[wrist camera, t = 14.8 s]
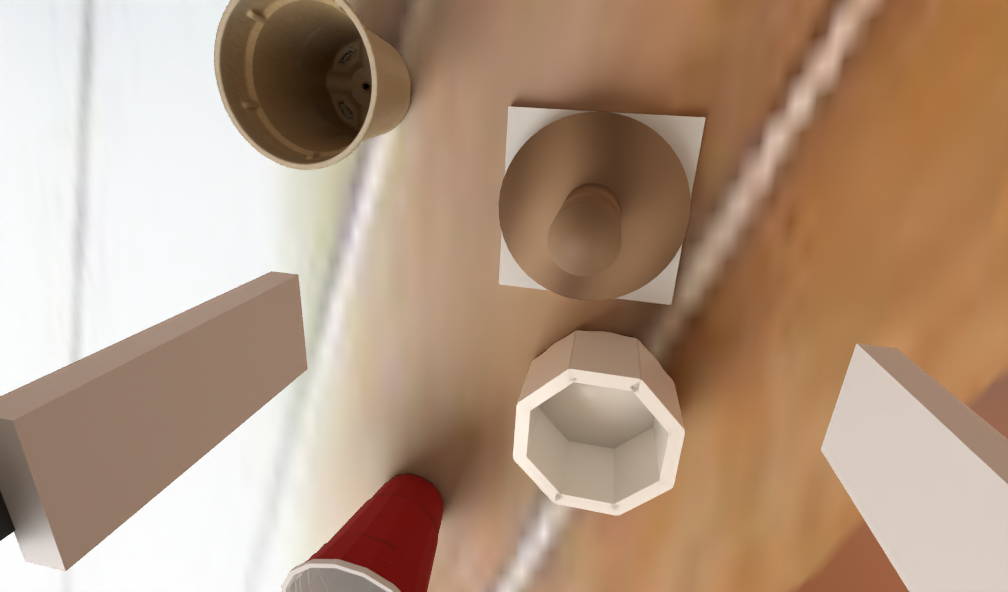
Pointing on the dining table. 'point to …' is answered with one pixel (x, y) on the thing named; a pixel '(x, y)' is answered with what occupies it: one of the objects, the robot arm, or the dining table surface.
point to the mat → (674, 129)
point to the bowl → (599, 423)
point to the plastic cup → (379, 544)
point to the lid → (594, 206)
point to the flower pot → (306, 79)
